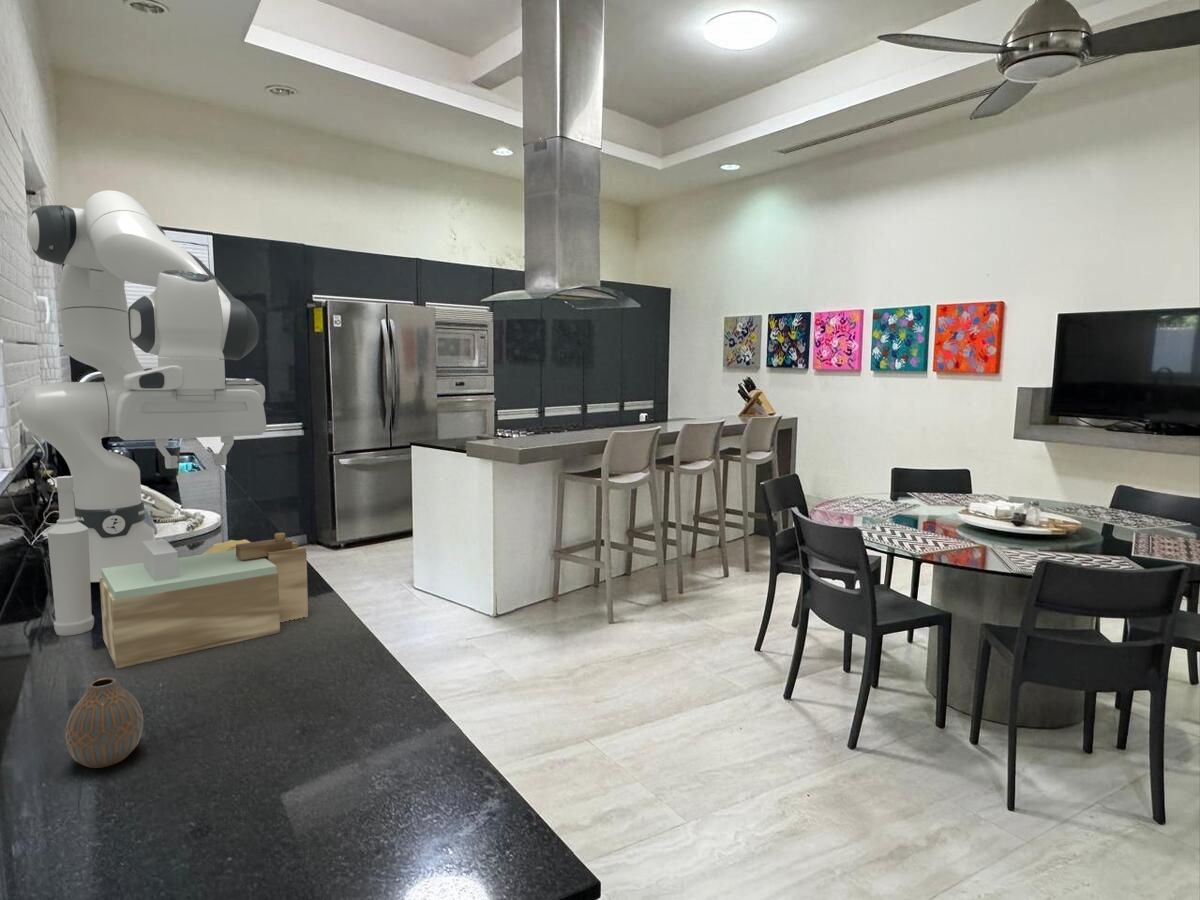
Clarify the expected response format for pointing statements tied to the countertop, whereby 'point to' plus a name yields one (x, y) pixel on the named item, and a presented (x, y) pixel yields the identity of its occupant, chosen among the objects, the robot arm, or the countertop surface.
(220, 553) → the lid
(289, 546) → the wooden knobbed block
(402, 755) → the countertop surface
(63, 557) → the bottle
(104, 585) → the toolbox
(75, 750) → the vase
